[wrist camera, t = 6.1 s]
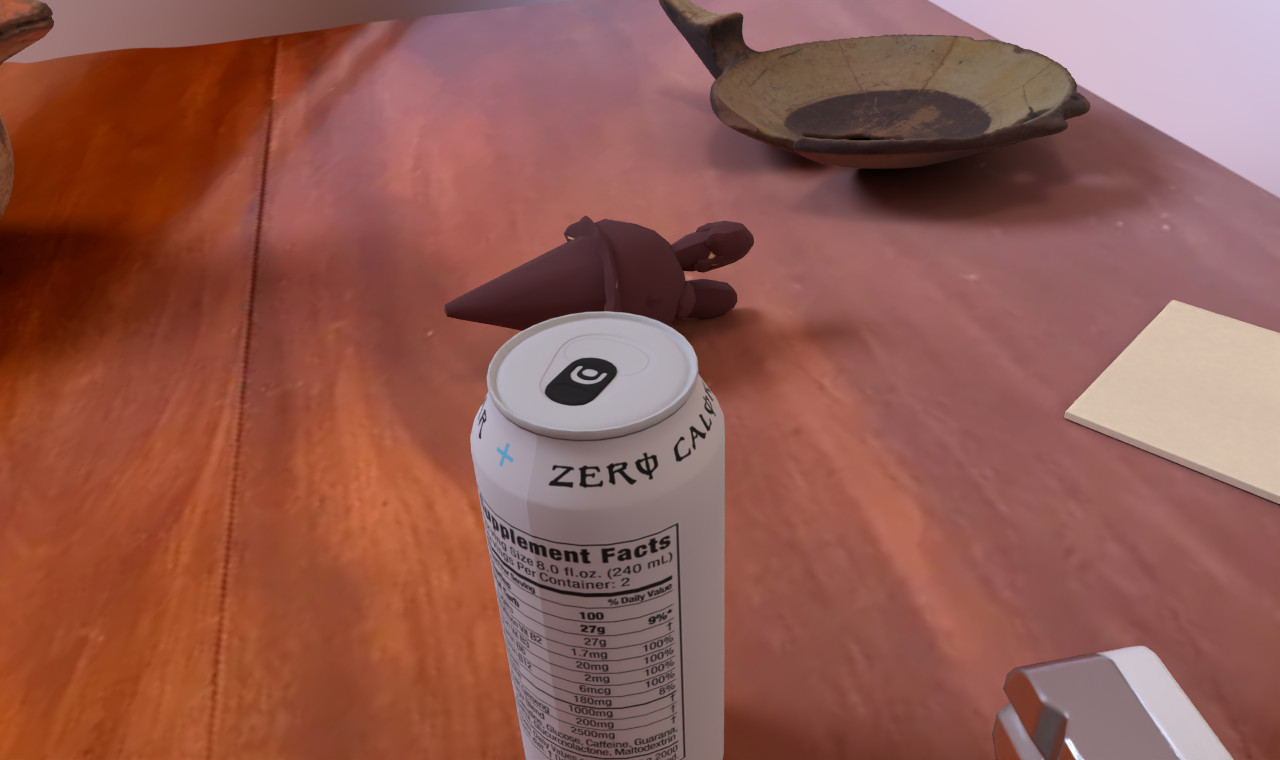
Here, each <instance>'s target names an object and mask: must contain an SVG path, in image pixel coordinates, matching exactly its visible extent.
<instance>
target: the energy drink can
mask: <svg viewBox="0 0 1280 760" xmlns="http://www.w3.org/2000/svg"><path fill="white" fill-rule="evenodd" d="M487 385H488V394H487V396H486V398H485V400H484V402H483V403H482V405H481V407H480V409H479V411H478V413H477V415H476V417H475V420H474V423H473V428H472V432H471V436H470V440H471V452H472V458H473V464H474V469H475V475H476V480H477V486H478V492H479V497H480V503H481V509H482V514H483V520H484V526H485V531H486V537H487V543H488V548H489V554H490V560H491V565H492V571H493V576H494V582H495V588H496V593H497V599H498V605H499V610H500V616H501V622H502V627H503V633H504V639H505V644H506V650H507V656H508V661H509V667H510V672H511V678H512V684H513V689H514V695H515V701H516V706H517V712H518V718H519V723H520V729H521V735H522V740H523V746H524V752H525V757H526V760H723V754H724V543H725V427H724V415H723V413H722V410H721V408H720V405H719V403H718V401H717V399H716V397H715V396H714V394H713V393H712V392H711V390H710V389H709V388H708V386H707V385H706V384H705V382H704V381H703V379H702V378H701V377H700V375H699V374H698V359H697V356H696V354H695V351H694V349H693V347H692V346H691V345H690V343H689V342H688V341H687V340H686V338H685V337H684V336H682V335H681V334H680V333H679V332H677V331H676V330H675V329H673V328H671V327H669V326H667V325H665V324H663V323H661V322H659V321H657V320H654V319H650V318H647V317H644V316H640V315H635V314H629V313H622V312H609V311H603V312H584V313H576V314H569V315H565V316H561V317H557V318H552V319H549V320H546V321H544V322H541V323H538V324H536V325H533V326H531V327H529V328H527V329H525V330H523V331H522V332H520V333H518V334H517V335H515V336H514V337H512V338H511V339H510V340H508V341H507V342H506V343H505V344H504V345H503V346H502V347H501V348H500V349H499V350H498V351H497V352H496V354H495V356H494V357H493V359H492V361H491V363H490V364H489V369H488V373H487Z"/></svg>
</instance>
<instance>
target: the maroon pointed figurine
mask: <svg viewBox="0 0 1280 760" xmlns="http://www.w3.org/2000/svg"><path fill="white" fill-rule="evenodd" d="M564 235H565V237H566V239H567V241H568V242H567V243H565V244H563V245H561V246H559V247H557V248H555V249H553V250H551V251H549V252H547V253H545V254H543V255H541V256H539V257H537V258H535V259H533V260H531V261H529V262H527V263H525V264H523V265H521V266H519V267H517V268H515V269H513V270H511V271H510V272H508V273H506V274H504V275H502V276H500V277H498V278H496V279H494V280H492V281H490V282H488V283H486V284H484V285H482V286H480V287H478V288H476V289H474V290H472V291H470V292H468V293H466V294H464V295H462V296H460V297H458V298H456V299H454V300H453V301H451V302H449V303H447V304H446V305H445V313H446V315H447V317H452V318H456V319H461V320H467V321H473V322H478V323H484V324H490V325H496V326H501V327H506V328H512V329H517V330H522V331H523V330H525V329H527V328H529V327H531V326H533V325H536V324H538V323H541V322H544V321H546V320H549V319H552V318H557V317H561V316H565V315H569V314H576V313H584V312H603V311H609V312H622V313H629V314H635V315H640V316H644V317H647V318H650V319H654V320H657V321H659V322H661V323H663V324H665V325H667V326H669V327H670V326H671V325H672V323H673V322H674V321H675V320H676V319H677V320H682V319H684V318H698V319H705V318H709V317H713V316H718V315H722V314H724V313H726V312H728V311H729V310H731V309H732V308H734V306H735V304H736V303H737V294H736V292H735V290H734V289H733V288H732V287H731V286H730V285H729V284H728V283H725V282H719V281H713V280H707V279H698V280H690V281H685V276H684V272H683V271H698V272H707V271H710V270H713V269H716V268H719V267H723V266H726V265H728V264H731V263H734V262H736V261H738V260H739V259H741V258H743V257H744V256H745V255H746V254H747V253H748V251H749V250H750V249H751V247H752V246H753V244H754V238H753V235H752V234H751V232H750V231H749V230H748V229H747V228H746V227H745V226H744V225H743V224H741V223H736V222H729V221H721V222H714V223H708V224H705V225H703V226H701V227H699V228H698V229H697V231H696V232H695V233H691V234H688V235H686V236H685V237H683V238H682V239H680V240H678V241H677V242H675V243H674V244H672V245H670V244H669V242H667V241H666V240H665V239H664V238H663V237H661V236H660V235H659V234H658V233H656V232H655V231H653V230H651V229H648V228H645V227H642V226H640V225H637V224H632V223H626V222H620V221H613V220H607V219H604V220H601V221H599V222H596V223H594V222H593V221H592V220H591V219H590V218H589V217H587V216H584V217H583V218H582V219H581V220H580V221H579V222H577V223H574V224H572V225H570V226H569V227H568V228H567V229H566V231H565V233H564Z"/></svg>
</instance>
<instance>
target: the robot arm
mask: <svg viewBox="0 0 1280 760" xmlns="http://www.w3.org/2000/svg"><path fill="white" fill-rule="evenodd" d="M1003 690H1004V691H1005V693H1006V695H1007V697H1008V699H1009V701H1010V702H1009V703H1008V704H1007V705H1006V706H1005V707H1004V708H1003V709H1002V710H1001V711H1000V712H999V713H997V714H996V719H995V724H994V729H993V734H992V735H993V742H994V750H995V758H996V760H1234V759H1233V758H1232V756H1231V755H1230V754H1229V752H1228V751H1227V750H1226V748H1225V747H1224V745H1223V744H1222V743H1221V741H1220V740H1219V739H1218V737H1217V736H1216V735H1215V733H1214V732H1213V731H1212V729H1211V728H1210V727H1209V725H1208V724H1207V723H1206V721H1205V720H1204V718H1203V717H1202V716H1201V714H1200V713H1199V712H1198V710H1197V709H1196V708H1195V706H1194V705H1193V704H1192V702H1191V701H1190V700H1189V698H1188V697H1187V696H1186V694H1185V693H1184V691H1183V690H1182V689H1181V687H1180V686H1179V685H1178V683H1177V682H1176V681H1175V679H1174V678H1173V677H1172V675H1171V674H1170V673H1169V671H1168V670H1167V669H1166V667H1165V666H1164V664H1163V663H1162V662H1161V660H1160V659H1159V658H1158V656H1157V655H1156V654H1155V653H1154V652H1153V651H1151V650H1150V649H1148V648H1147V647H1145V646H1132V647H1127V648H1122V649H1117V650H1112V651H1107V652H1101V653H1095V652H1094V653H1089V654H1083V655H1078V656H1073V657H1068V658H1063V659H1057V660H1052V661H1047V662H1042V663H1037V664H1031V665H1026V666H1021V667H1016V668H1014V669H1013V670H1012V671H1010V672H1009V673H1008V674H1007V677H1006V681H1005V684H1004V688H1003Z"/></svg>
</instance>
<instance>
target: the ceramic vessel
mask: <svg viewBox="0 0 1280 760" xmlns="http://www.w3.org/2000/svg"><path fill="white" fill-rule="evenodd" d="M52 14H53V13H52V11H51V9H50V8H49V7H48V5H47V4H46V3H43V2H40V1H38V0H0V65H1V64H2V63H3V62H4V61H5V60H7V59H8V58H10V57H12V56H13V55H15V54H17V53H18V52H20V51H21V50H23V49H25V48H26V47H28V46H30V45H31V44H33V43H35V42H36V41H38V40H40V39H41V38H43V37H44V36H45V35H46V34H47V33H48V32H49V31H50V30H51V29H52V27H53V25H54V21H53V19H52V17H51V16H52ZM13 178H14V158H13V152H12V146H11V142H10V138H9V134H8V131H7V128H6V126H5V124H4V121H3V119H2V117H1V115H0V219H1V217H2V215H3V213H4V211H5V209H6V207H7V205H8V203H9V201H10V196H11V191H12V185H13Z"/></svg>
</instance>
